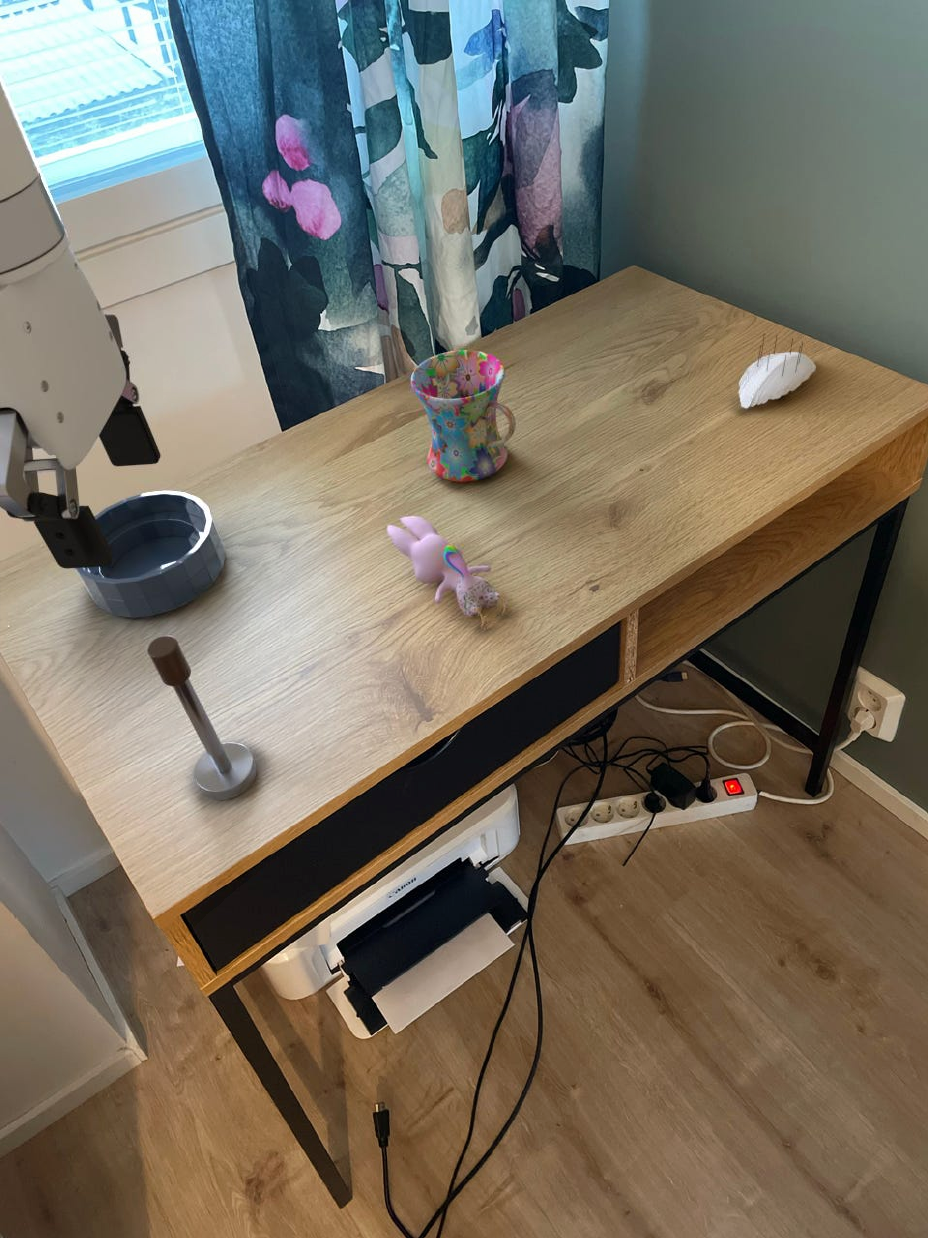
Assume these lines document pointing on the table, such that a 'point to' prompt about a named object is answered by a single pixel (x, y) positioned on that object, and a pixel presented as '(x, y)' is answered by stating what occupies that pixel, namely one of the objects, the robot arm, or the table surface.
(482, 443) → the mug
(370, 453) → the table surface
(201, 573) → the bowl
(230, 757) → the wood-topped metal stand
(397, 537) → the rabbit figure
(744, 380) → the pincushion
